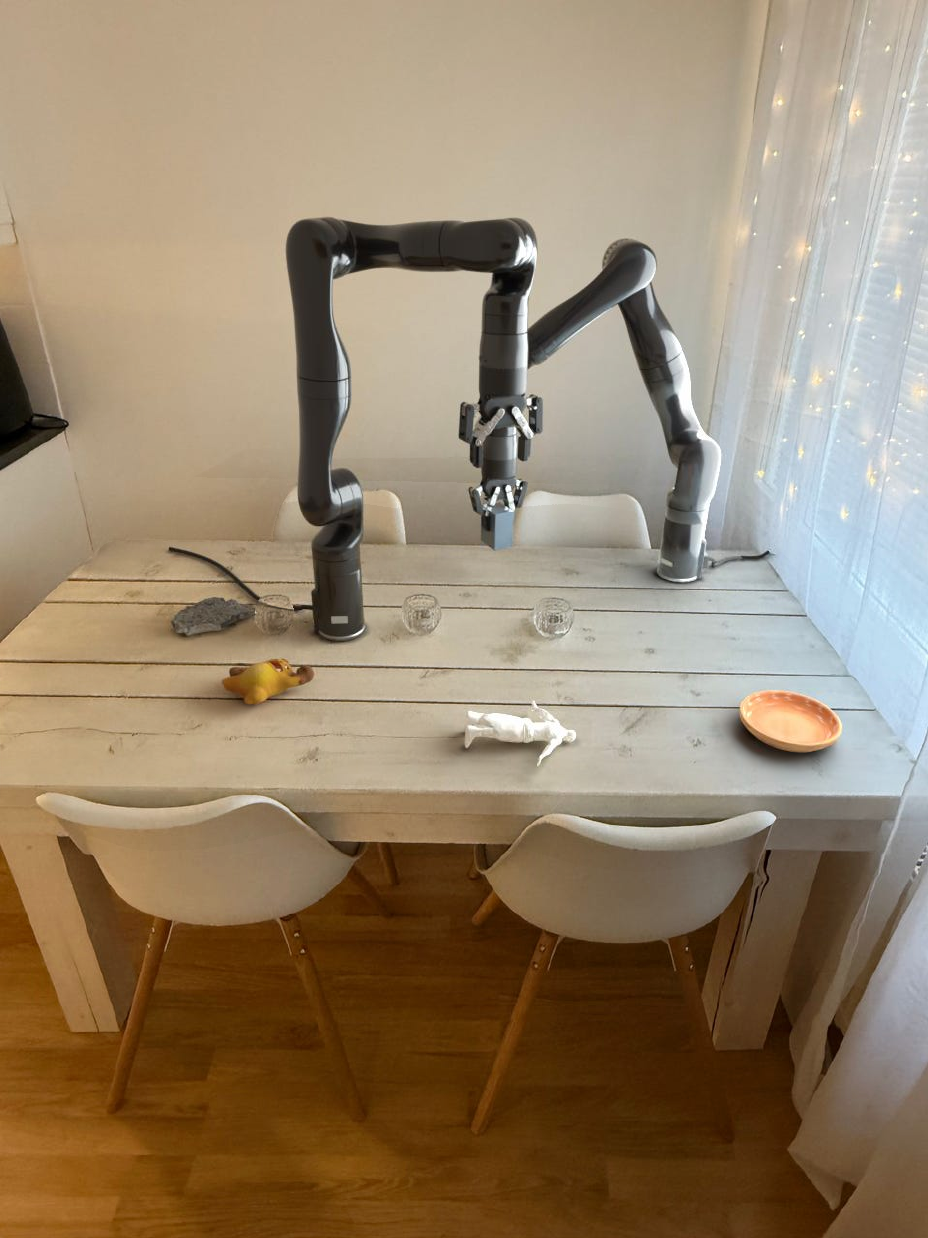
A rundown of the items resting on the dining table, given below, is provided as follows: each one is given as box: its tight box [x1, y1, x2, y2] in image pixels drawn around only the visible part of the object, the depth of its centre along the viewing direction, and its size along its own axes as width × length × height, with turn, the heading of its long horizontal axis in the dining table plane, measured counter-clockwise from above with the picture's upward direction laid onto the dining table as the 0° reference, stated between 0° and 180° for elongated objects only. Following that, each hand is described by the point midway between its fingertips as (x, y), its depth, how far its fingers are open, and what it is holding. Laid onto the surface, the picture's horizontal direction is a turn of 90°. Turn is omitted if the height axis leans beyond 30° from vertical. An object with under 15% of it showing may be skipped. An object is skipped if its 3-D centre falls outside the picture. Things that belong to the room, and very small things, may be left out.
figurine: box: [464, 699, 577, 767], centre depth 133 cm, size 17×5×18 cm
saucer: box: [739, 689, 843, 753], centre depth 136 cm, size 16×16×3 cm
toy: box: [221, 658, 315, 705], centre depth 144 cm, size 11×6×15 cm
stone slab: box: [170, 596, 256, 637], centre depth 168 cm, size 12×17×3 cm
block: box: [480, 501, 515, 551], centre depth 181 cm, size 5×6×8 cm
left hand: (500, 463), depth 134 cm, fingers open, 8 cm apart
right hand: (497, 528), depth 181 cm, fingers closed on block, 4 cm apart
